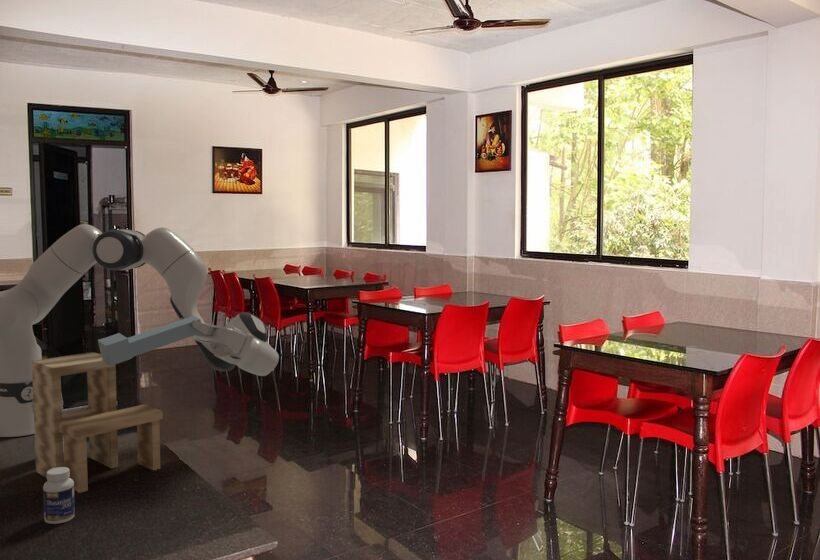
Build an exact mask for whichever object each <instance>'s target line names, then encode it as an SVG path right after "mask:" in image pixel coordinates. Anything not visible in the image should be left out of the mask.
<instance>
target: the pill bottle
mask: <svg viewBox="0 0 820 560" xmlns="http://www.w3.org/2000/svg"><path fill="white" fill-rule="evenodd" d="M69 476H70V470H69V468H67V467H58V468H53V469H50V470H48V471H47V478H46V480H47V481H46V482H44V484H43V486H42V492H43V519H44V522H45V523H47V524H49V525H50V524H51V525H58V524H63V523H67V522H70V521H71V520H72V519H74V518H75V515H76V513H75V512H76V511H75V510H76V509H75V508H76V507H75V502H76V501H75V490H74V481H73V480H72V479H71V478H69Z"/></svg>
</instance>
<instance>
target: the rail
mask: <svg viewBox="0 0 820 560" xmlns="http://www.w3.org/2000/svg"><path fill="white" fill-rule="evenodd" d="M193 320H195V321H199V322H201V321H200V319H199V318H197V317H195V316H191V317H188V318H185V319H182V320H180V319H179V320H177V321H174V322H171V323H168V324H164V325H162V326H159V327H156V328H153V329H151V330H147V331H145V332H144V331H143V332H141V333H138V334H135V335H132V336H129V337H126V336H125V335H123V334H121V333H120V332H117V333H114V334H113V335H112V334H111V335H109V336H107V337H103V338H100V339H97V342H98V343H97V344H98V347H99V351H100V354H101V356H102V360H103V361H104V362H106V363H107V364H109V365H110V366H112V365H115V364H116V365H118V364H121V363H123V362H126V361H129V360H131V359H133V358H134V357H136V356H138V355H139V356H140V355H143V354H145V353H147V352H150V351H153V350H156V349H160V348H163V347H164V346H167V345H171V344H173V343H175V342H178V341H181V340H184V339H187V338H190V336H193V335H196V334H199V333H202V332H201V331H199V330H197V329H194V328H192V327H191V326H190V325H191V323H192V321H193Z"/></svg>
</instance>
